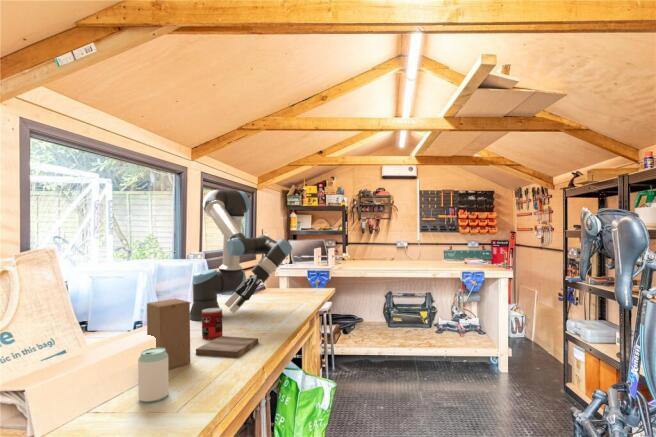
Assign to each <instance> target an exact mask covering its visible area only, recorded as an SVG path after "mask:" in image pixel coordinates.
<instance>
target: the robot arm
mask: <svg viewBox="0 0 656 437" xmlns="http://www.w3.org/2000/svg"><path fill="white" fill-rule="evenodd" d="M202 208H203V211H204V213H205V214H206V215H207V216H208V217H210V218H211V220H212V221H213V222H214V223H215V225H216V227H217V228H218V229H219V230H220V232H221V235H223V247H222V263H221V265H220V266H219V268H218V270H217V269H212V268H211V269H205V270H204V269H203V270H201V271H197V272H195V273H194V274H193V276H192V306H191V307H190V321H202V310H204V309H208V308H220V305H219V302H218V295H223V294H224V295H225V294H230V293H232V295H230V297H228V299H227V300H226V301H225V302H224V305H225V306H226V307H228V308H229V309H228V310H229V311H230V312H231V313H232V314H234V315H235V314H236V312H237V311H238V310H240V308H241V307H242V306H243V305H244V304H245V302H246V301H249V300H250V299H251V297H253V295H254V294H255V292H256V290H257V289H258V287H259V286H260V285H261V283H262V282H264V283H265V282H266V281H267V280H268V279H269V278H270V276H271V275H273V273H274V272H276V271H277V268H279V266H280V265H281V264H282V263H283V261H284V260H286V259H287V257H288V256H289V255H290V253H291V252H292V251H293V246H292V245H291V243H290V242H288V241H287V240H286V239H284V237H283V238H279V239H278V240H277V241H276V240H274V239H273V238H271V237H269V236H267V235H264V234H260V235H258V236H256V237H246V236H245V234H244V233H243V232H242V219H244V218H245V214H246V213H249V212H248V211H249V209H250V199H249V196H248V195H247V193H246V192H245V191H242V190H235V189H233V190H232V189H214V190H211V191H209V192H208V193H207V194H206V195H205V197H204V199H203V201H202ZM253 255H254V256H255V255H264V256H262V257H261V259H260V260H259V261H258V262H257V263H258V264H256V265H255V266H254V267H252V269H251V272H252V274H253V275H252V274H250V275H249V276H248V277H247V275H246V272H245V271H244V270H243V267H242V266H241V265H240V258H241V257H242V256H243V257H244V256H253Z"/></svg>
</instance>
